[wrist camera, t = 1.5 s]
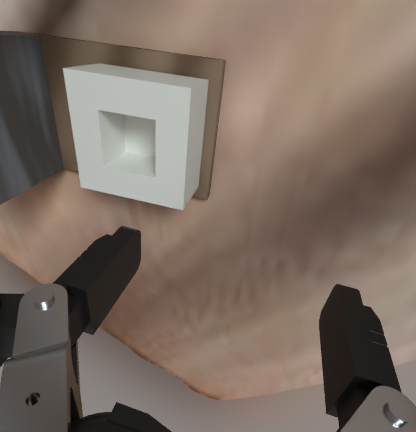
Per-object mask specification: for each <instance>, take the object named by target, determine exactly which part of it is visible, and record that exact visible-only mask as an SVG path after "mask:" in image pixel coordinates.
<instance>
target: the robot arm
mask: <svg viewBox="0 0 416 432" xmlns="http://www.w3.org/2000/svg"><path fill="white" fill-rule="evenodd" d="M140 261H141V233H140V231H139V230H136V229H132V228H128V227H125V226H121V227H120V228H119V229H118V230H117V231H116V232H115V233H114V234H113V235H112V236H111V235H108V234H107V235H105V236H103V237H101V238H99V239H97V240H95V241H94V242H93V243H92V244H91V245H90V246H89V247H88V248H87V250H85V251H84V252H83V253H82V254H81V256H80V257H78V258H77V259H76V260H75V261H74V262H73V263H72V264H71V265H70V266H69V267H68V268H67V269H66V270H65V271H64V272H63V273H62V275H61V276H60V277H59V278H58V279H57V280H56V281H55V282H53V283H48V284H43V285H39V286H36V287H34V288H32V289H31V290H29V291H28V292H27V293H26V294H0V367H1V366H2V364H3V363H4V362H5V363H4V367H3V371H2V378H1V383H0V432H171V431H170V430H169V429H167V428H166V427H165V426H163V425H162V424H161V423H159V422H158V421H157V420H156V419H154V418H153V417H152V416H150V415H149V414H147V413H144V412H142V411H139V410H136V409H133V408H131V407H128V406H125V405H123V404H120V403H116V405H115V406H114V408H113V410H112V412H103V413H96V414H92V415H88V416H86V417H83V412H82V403H81V395H80V383H79V382H80V381H79V361H78V343H77V340H78V338H79V337H80V335H81V334H82V332H86V333H89V334H92V335H93V334H94V333H95V331H96V330H97V329H98V327H99V326H100V324H101V323H102V321H103V320H104V318H105V317H106V315H107V314H108V313H109V311H110V310H111V308H112V307H113V305H114V304H115V302H116V301H117V299H118V298H119V296H120V295H121V294H122V292H123V291H124V289H125V288H126V286H127V285H128V283H129V282H130V280H131V279H132V277H133V276H134V275H135V273H136V272H137V270H138V267H139V265H140ZM319 330H320V343H321V355H322V367H323V380H324V392H325V404H326V414H329V415H332V416H335V417H338V421H339V429H338V430H337V431H336V432H416V406H415V405H414V404H413V403H412V401H410V400H409V399H408V398H407V397H406V396H405V395H404V394H402V392H401V389H400V386H399V382H398V379H397V376H396V372H395V369H394V365H393V362H392V359H391V355H390V352H389V349H388V347H387V342H386V339H385V336H384V332H383V329H382V325H381V322H380V320H379V318H378V317H377V315H376V314H375V313H374V311H373V310H372V308H371V307H368V306H364V305H363V303H362V299H361V295H360V292H359V290H358V289H354V288H351V287H347V286H343V285H340V284H336V285H335V286H334V288H333V290H332V292H331V293H330V295H329V297H328V299H327V301H326V303H325V305H324V307H323V309H322V311H321V314H320V319H319ZM8 357H12V358H11V359H8V360H7V358H8Z"/></svg>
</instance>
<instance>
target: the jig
mask: <svg viewBox="0 0 416 432" xmlns="http://www.w3.org/2000/svg"><path fill="white" fill-rule="evenodd" d="M99 63H101V64H108V65H115V66H121V67H128V68H134V69H141V70H148V71H154V72H161V73H167V74H174V75H181V76H187V77H194V78H200V79H207V80H209V82H208V93H207V103H206V114H205V124H204V134H203V145H202V155H201V166H200V176H199V186H198V188H197V190H196V191H195V193H194V194H193V196H192V197H197V198H201V199H206V200H207V199H208V197H209V196H210V187H211V179H212V171H213V163H214V154H215V146H216V138H217V129H218V121H219V113H220V105H221V96H222V88H223V80H224V72H225V63H226V60H221V59H214V58H207V57H200V56H192V55H185V54H178V53H171V52H164V51H156V50H149V49H142V48H135V47H128V46H121V45H113V44H106V43H99V42H92V41H85V40H77V39H70V38H63V37H56V36H49V35H41V34H34V33H27V32H20V31H0V204H2V203H4V202H6V201H8V200H9V199H11V198H13V197H15V196H16V195H18V194H20V193H22V192H23V191H25V190H27V189H29V188H31V187H32V186H34V185H36V184H38V183H39V182H41V181H43V180H45V179H47V178H48V177H50V176H52V175H54V174H55V173H57V172H59V171H61V170H63V169H68V170H73V171H77V172H79V171H78V164H77V158H76V151H75V144H74V138H73V131H72V125H71V118H70V112H69V105H68V99H67V92H66V86H65V79H64V73H63V68H67V67H75V66H83V65H91V64H99Z"/></svg>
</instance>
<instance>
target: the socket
mask: <svg viewBox="0 0 416 432" xmlns="http://www.w3.org/2000/svg"><path fill="white" fill-rule="evenodd" d="M63 73H64V79H65V86H66V92H67V99H68V105H69V112H70V118H71V125H72V131H73V138H74V144H75V151H76V158H77V164H78V171H79V177H80V184H81V187H82V188H86V189H91V190H95V191H100V192H104V193H109V194H113V195H117V196H122V197H126V198H131V199H135V200H139V201H144V202H148V203H153V204H157V205H161V206H166V207H170V208H175V209H179V210H184V208H185V207H186V205H187V203H188V202H189V200H190V199H191V197H192V196H193V194H194V193H195V191H196V190H197V188H198V186H199V176H200V166H201V155H202V145H203V134H204V124H205V114H206V103H207V93H208V82H209V80H207V79H200V78H194V77H187V76H181V75H174V74H167V73H161V72H154V71H148V70H141V69H134V68H128V67H121V66H115V65H108V64H101V63H99V64H91V65H83V66H75V67H67V68H63Z"/></svg>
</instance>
